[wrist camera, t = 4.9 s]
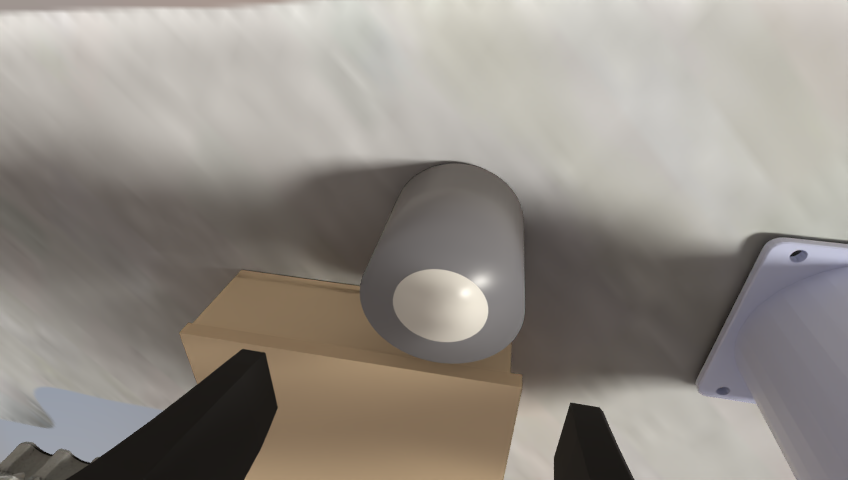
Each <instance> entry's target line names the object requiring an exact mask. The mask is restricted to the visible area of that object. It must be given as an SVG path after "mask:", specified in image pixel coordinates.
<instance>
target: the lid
mask: <svg viewBox="0 0 848 480" xmlns="http://www.w3.org/2000/svg"><path fill="white" fill-rule="evenodd" d="M179 334H180V337H181V340H182V343H183V345H184V348H185V351H186V354H187V357H188V359H189V362H190V365H191V368H192V371H193V373H194V376H195V379H196V382H197V384H199V383H200V382H201V381H202V380H204V379H205V378H206V377H207V376H209V375H210V374H211V373H212V372H214V371H215V370H216V369H217V368H219V367H220V366H221V365H222V364H224V363H225V362H226V361H227V360H229V359H230V358H231V357H232V356H234V355H235V354H236V353H238V352H239V351H240V350H242V349H247V350H253V351H259V352H265V353H266V357H267V362H268V366H269V370H270V375H271V379H272V384H273V388H274V392H275V397H276V401H277V406H278V409H277V411H276V414H275V416H274V419H273V421H272V424H271V426H270V429H269V431H268V434H267V436H266V438H265V441H264V443H263V445H262V448H261V450H260V452H259V453H258V455H257V457H256V459H255V461H254V463H253V465H252V466H251V468H250V470H249V472H248V474H247V475H246V477H245V479H244V480H503V479H504V474H505V469H506V464H507V459H508V455H509V450H510V445H511V440H512V435H513V430H514V425H515V421H516V416H517V411H518V406H519V401H520V396H521V391H522V375H521V374H515V373H508V372H502V371H495V370H489V369H483V368H476V367H470V366H463V365H457V364H448V363H438V362H432V361H427V360H423V359H418V358H412V357H405V356H399V355H393V354H386V353H380V352H373V351H367V350H360V349H354V348H348V347H341V346H335V345H328V344H322V343H315V342H309V341H303V340H296V339H290V338H283V337H277V336H271V335H264V334H258V333H251V332H245V331H238V330H232V329H226V328H219V327H213V326H206V325H200V324H193V323H188V324H187V325H186V326H185V327H184V328H183V329H182V330H181V331H180V332H179Z"/></svg>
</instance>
